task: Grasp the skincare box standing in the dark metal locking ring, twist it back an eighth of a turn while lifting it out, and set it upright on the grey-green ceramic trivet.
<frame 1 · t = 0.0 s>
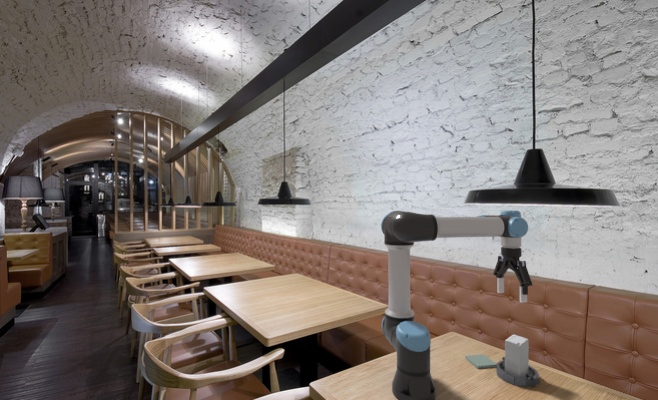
hand: (511, 297, 135), 28 cm above the table, tool pointing down, fingers open, 13 cm apart
trivet: (480, 362, 136), on the table
skincare box: (516, 377, 124), resting in locking ring
locking ring: (516, 376, 124), on the table
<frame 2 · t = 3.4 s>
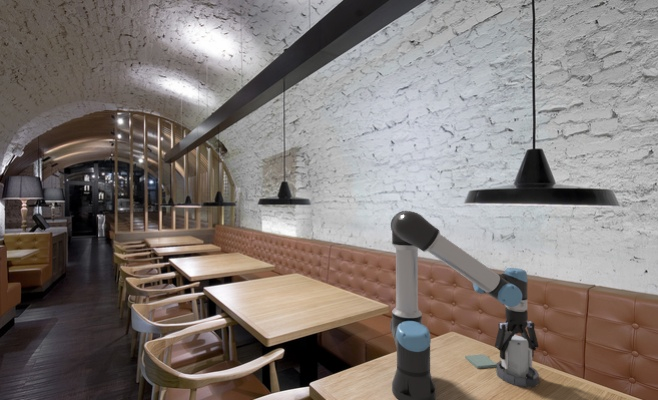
hand: (516, 366, 124), 4 cm above the table, tool pointing down, fingers closed on skincare box, 10 cm apart
skincare box: (516, 377, 124), resting in locking ring, touching gripper
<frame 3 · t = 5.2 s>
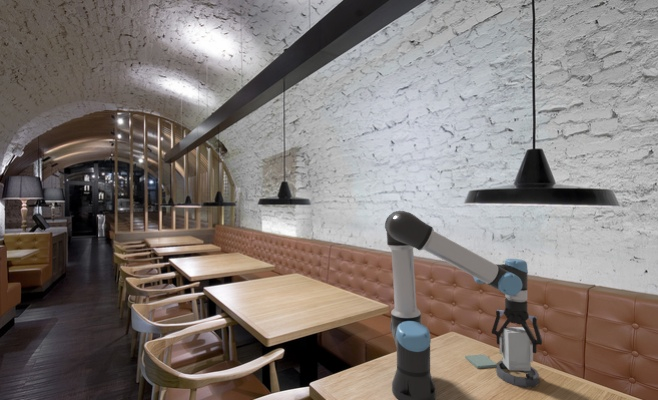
hand: (516, 356, 125), 8 cm above the table, tool pointing down, fingers closed on skincare box, 10 cm apart
skincare box: (516, 367, 124), point 3 cm above the table, touching gripper
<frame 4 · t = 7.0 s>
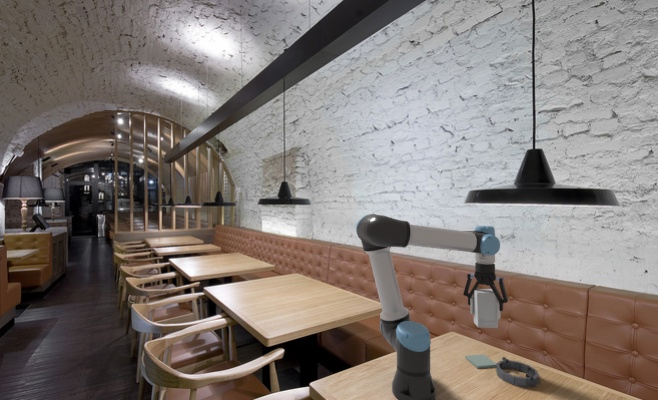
hand: (485, 315, 134), 20 cm above the table, tool pointing down, fingers closed on skincare box, 10 cm apart
skincare box: (485, 326, 134), point 16 cm above the table, touching gripper
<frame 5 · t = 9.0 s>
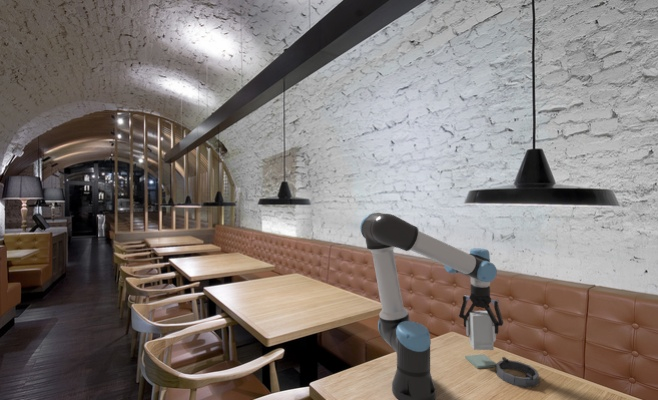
hand: (480, 337, 136), 10 cm above the table, tool pointing down, fingers closed on skincare box, 10 cm apart
skincare box: (481, 347, 136), point 6 cm above the table, touching gripper
when the fingers open (7 cm above the table, at t = 10.8 s): skincare box drops 1 cm, resting on trivet.
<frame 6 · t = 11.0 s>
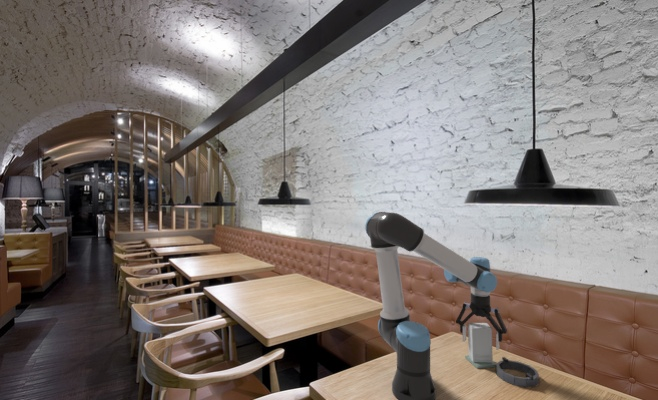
hand: (480, 344, 136), 8 cm above the table, tool pointing down, fingers open, 12 cm apart
skincare box: (480, 360, 136), point 1 cm above the table, touching trivet
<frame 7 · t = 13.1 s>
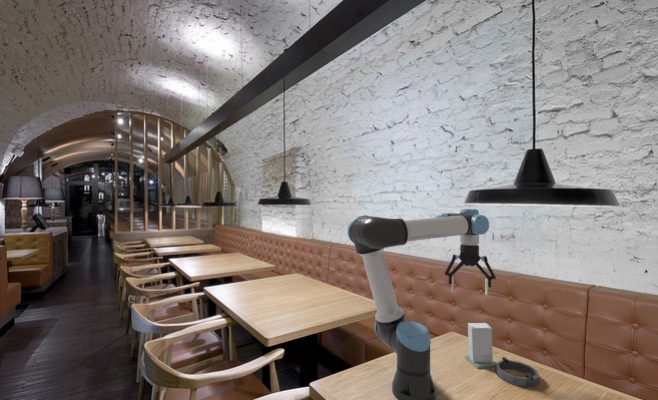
hand: (469, 293, 139), 29 cm above the table, tool pointing down, fingers open, 13 cm apart
nothing on the table moved.
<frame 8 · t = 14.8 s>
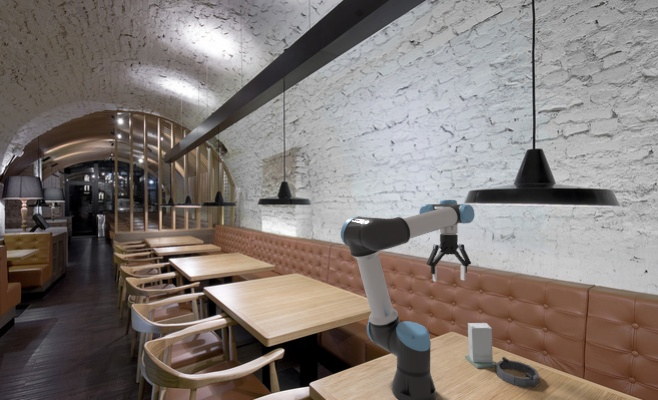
hand: (449, 280, 144), 33 cm above the table, tool pointing down, fingers open, 13 cm apart
nothing on the table moved.
at the end: skincare box inside the target area on the trivet (0.3 cm from its centre), point 0.8 cm above the trivet's base; skincare box tilted 0°; the gripper is holding nothing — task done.
